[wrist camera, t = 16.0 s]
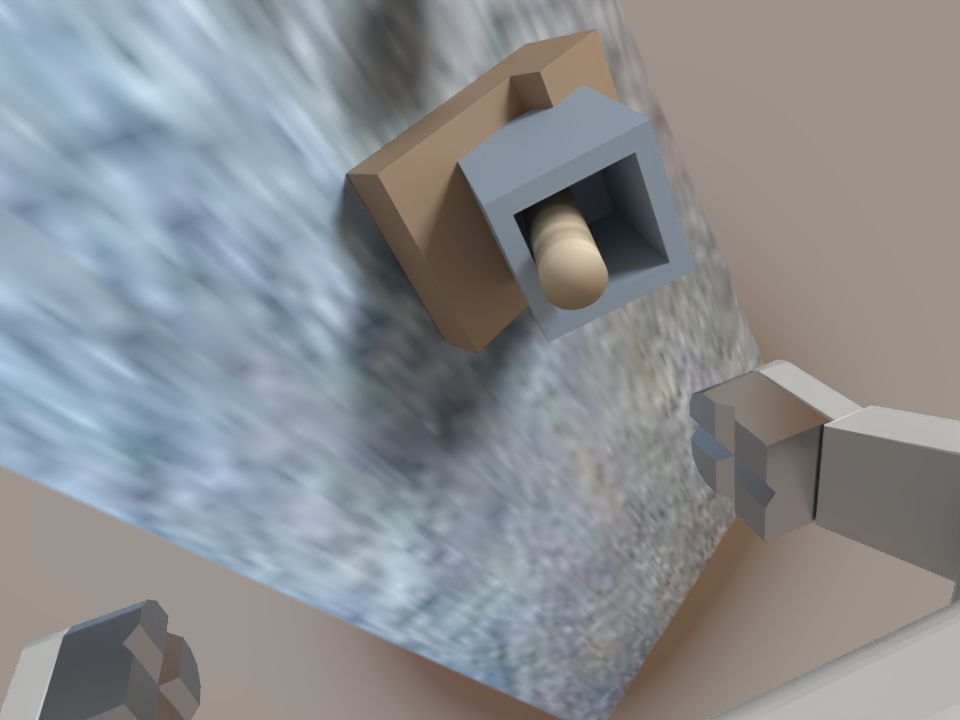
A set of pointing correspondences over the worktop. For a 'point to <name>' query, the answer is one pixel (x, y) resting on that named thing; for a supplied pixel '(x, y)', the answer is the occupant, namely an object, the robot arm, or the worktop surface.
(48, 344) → the worktop surface
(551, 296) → the peg
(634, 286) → the socket
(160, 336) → the worktop surface
